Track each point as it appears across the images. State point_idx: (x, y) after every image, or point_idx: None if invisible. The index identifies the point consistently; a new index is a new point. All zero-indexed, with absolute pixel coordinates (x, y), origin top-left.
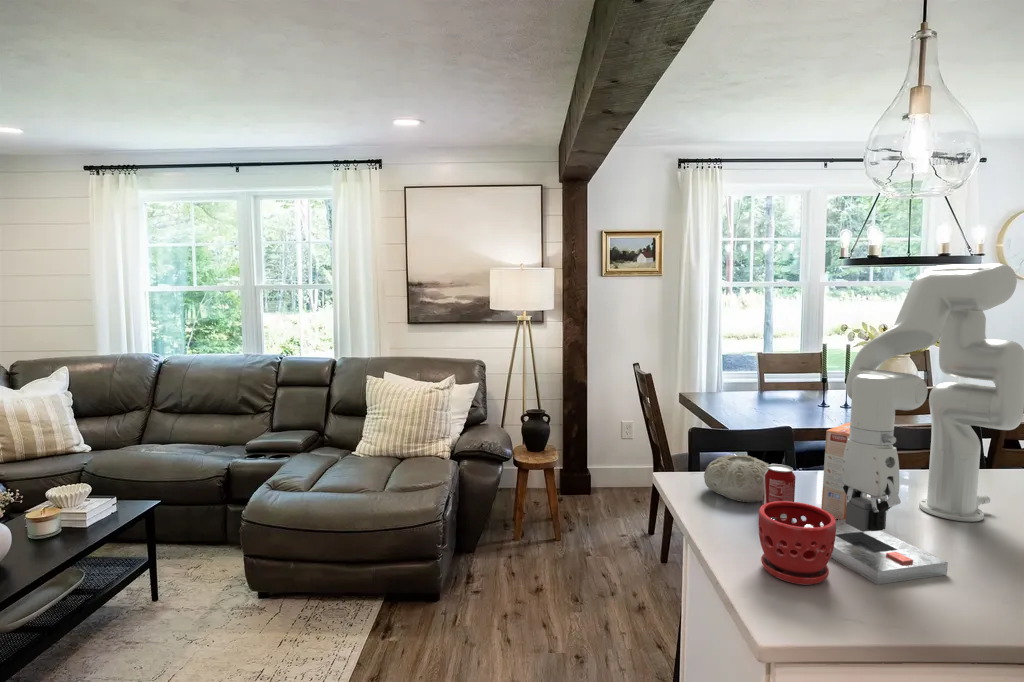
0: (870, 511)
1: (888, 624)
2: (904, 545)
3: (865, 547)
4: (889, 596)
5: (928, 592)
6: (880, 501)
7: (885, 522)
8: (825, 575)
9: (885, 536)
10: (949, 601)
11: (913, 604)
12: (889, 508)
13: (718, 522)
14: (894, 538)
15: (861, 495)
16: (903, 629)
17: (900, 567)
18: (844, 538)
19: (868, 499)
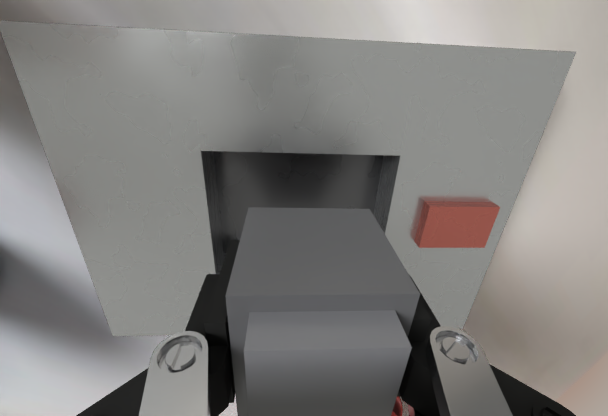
0: (397, 395)
1: (534, 372)
2: (383, 85)
3: (264, 165)
4: (487, 312)
5: (535, 221)
6: (441, 411)
7: (380, 229)
8: (400, 403)
9: (274, 81)
10: (587, 211)
11: (534, 294)
12: (517, 382)
13: (33, 409)
14: (305, 54)
15: (209, 389)
16: (557, 364)
17: (484, 262)
18: (215, 222)
19: (312, 395)
